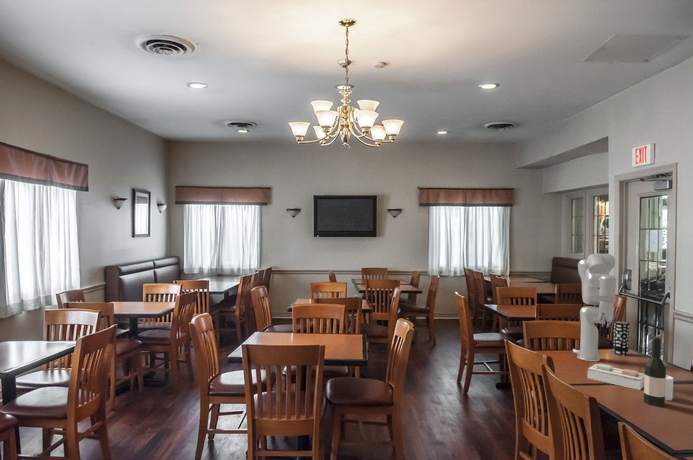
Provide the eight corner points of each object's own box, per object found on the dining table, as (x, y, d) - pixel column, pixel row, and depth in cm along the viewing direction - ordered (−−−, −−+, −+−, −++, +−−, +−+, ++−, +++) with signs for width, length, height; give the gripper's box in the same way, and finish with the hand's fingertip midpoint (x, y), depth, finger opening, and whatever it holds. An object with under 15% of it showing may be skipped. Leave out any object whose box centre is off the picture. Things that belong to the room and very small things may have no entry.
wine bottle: (662, 401, 221) (664, 336, 221) (667, 407, 213) (670, 339, 213) (641, 398, 224) (643, 334, 223) (645, 404, 216) (648, 337, 215)
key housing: (587, 378, 253) (587, 368, 253) (595, 372, 263) (596, 363, 263) (639, 390, 236) (640, 379, 236) (646, 383, 246) (646, 374, 246)
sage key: (596, 371, 253) (596, 365, 253) (599, 369, 258) (599, 363, 258) (608, 373, 249) (609, 368, 249) (612, 371, 254) (612, 366, 254)
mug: (674, 401, 221) (675, 380, 221) (652, 398, 225) (653, 377, 224) (668, 393, 232) (669, 373, 232) (647, 390, 236) (648, 370, 236)
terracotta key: (621, 376, 245) (622, 370, 245) (624, 374, 250) (625, 368, 250) (635, 379, 241) (635, 373, 241) (638, 377, 245) (638, 371, 245)
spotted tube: (624, 352, 310) (625, 321, 310) (630, 356, 302) (631, 324, 302) (610, 351, 311) (611, 320, 311) (616, 355, 303) (617, 323, 302)
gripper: (603, 297, 262) (602, 330, 262) (594, 299, 251) (593, 335, 251) (619, 299, 256) (617, 333, 257) (610, 301, 246) (609, 337, 246)
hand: (605, 334), depth 254 cm, fingers closed
